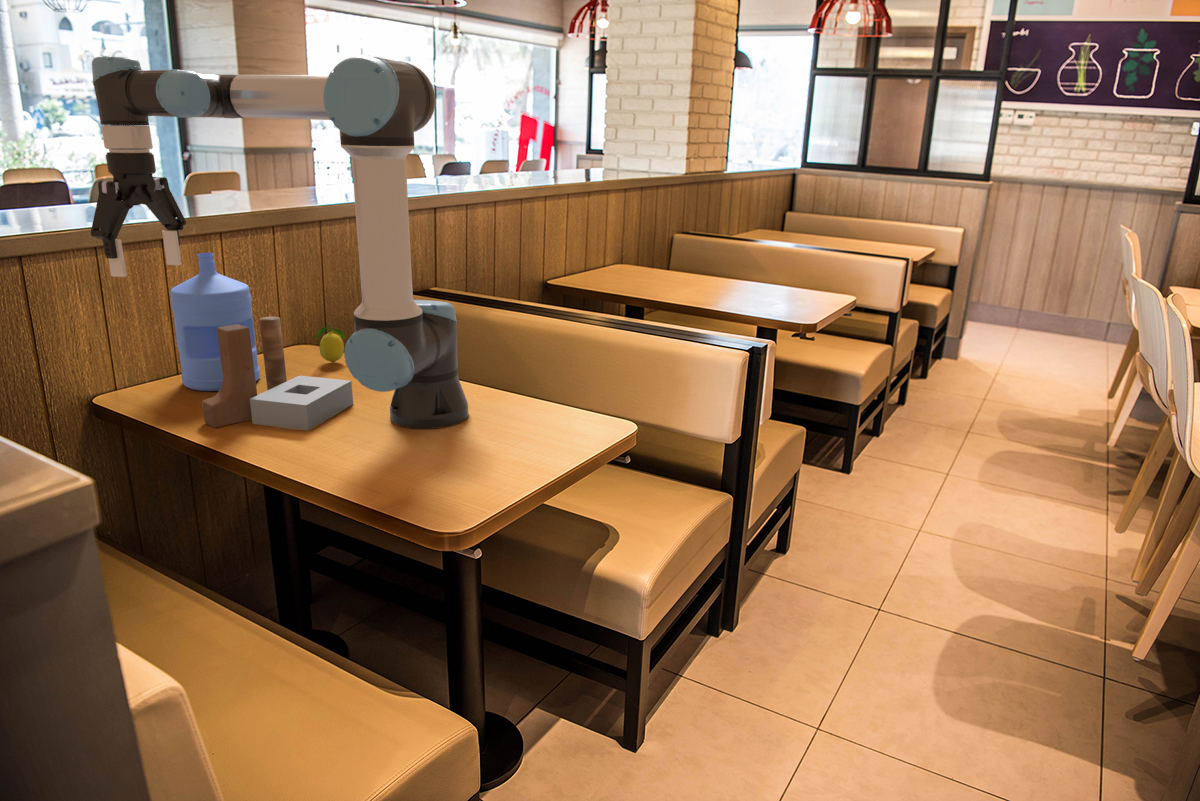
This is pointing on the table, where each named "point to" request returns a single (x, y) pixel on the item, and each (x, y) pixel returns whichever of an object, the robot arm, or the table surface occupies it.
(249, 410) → the brown boot
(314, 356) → the table surface
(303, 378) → the socket board
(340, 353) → the lemon
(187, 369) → the water jug
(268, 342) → the pin
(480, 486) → the table surface
